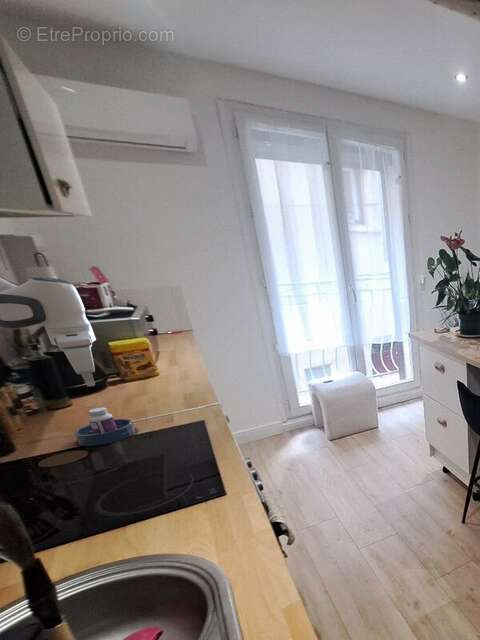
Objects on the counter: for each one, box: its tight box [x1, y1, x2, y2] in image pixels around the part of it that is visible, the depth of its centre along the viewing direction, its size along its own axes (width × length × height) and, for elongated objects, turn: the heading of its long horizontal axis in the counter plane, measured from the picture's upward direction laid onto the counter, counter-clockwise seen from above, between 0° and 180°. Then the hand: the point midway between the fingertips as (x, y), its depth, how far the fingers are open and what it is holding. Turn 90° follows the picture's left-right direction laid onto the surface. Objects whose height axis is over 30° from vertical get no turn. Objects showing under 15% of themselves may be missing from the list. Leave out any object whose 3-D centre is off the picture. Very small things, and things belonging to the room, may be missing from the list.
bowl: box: [74, 418, 137, 447], centre depth 132 cm, size 13×13×4 cm
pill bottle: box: [88, 407, 117, 434], centre depth 131 cm, size 5×5×10 cm
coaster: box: [37, 449, 89, 468], centre depth 119 cm, size 10×10×1 cm
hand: (90, 382), depth 122 cm, fingers open, 8 cm apart
